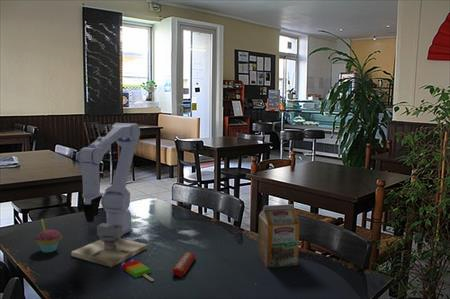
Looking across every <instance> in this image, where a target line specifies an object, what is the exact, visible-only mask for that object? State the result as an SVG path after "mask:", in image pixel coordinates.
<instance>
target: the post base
mask: <svg viewBox="0 0 450 299" xmlns="http://www.w3.org/2000/svg"><path fill="white" fill-rule="evenodd" d="M147 249H148V243H147V244H146V243H144V242H143V243H142V242H138V241H133V240H130V239H126V238H122V237H121V240H119V241H113V242H103V241H101V238H99V239H98V240H96V241H94V242H91V243H88V244H86V245H85V246H81V247H79V248H77V249H74V250H72V251H71V257H74V258H78V259H82V260H85V261H88V262H92V263H96V264H98V265H102V266H106V267H109V268H113V267H114V266H116V265H118V264H120V263H122V262H125V261H126V260H128V259H131V258H132V257H134V256H136V255H137V254H139V253H141V252H143V251H145V250H147Z"/></svg>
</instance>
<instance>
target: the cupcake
mask: <svg viewBox="0 0 450 299" xmlns="http://www.w3.org/2000/svg"><path fill="white" fill-rule="evenodd" d="M40 221H41V225H42V231H41V232H38V233H37V234H36V236H35V238H34V240H35V243H37V244H38V246H39V248H40V251H41V252H42V253H52V252H53V253H54V252H55V251H56V250H57V248H58V244H59V242H60V241H62V239H63V236H62V233H61V232H60V231H59V230H56V229H48V228H47V229H46V226H45V221H44V219H43V218H42V217H41V220H40Z"/></svg>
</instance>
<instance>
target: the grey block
mask: <svg viewBox="0 0 450 299" xmlns="http://www.w3.org/2000/svg"><path fill="white" fill-rule="evenodd" d="M96 236H97V237H98V238H99V239H101V241H103V242H113V241H119V240H121V238H122V236H123V235H122V225H114V224H107V222H106V223H105V222H102V223H100V224H98V225H96Z"/></svg>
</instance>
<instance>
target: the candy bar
mask: <svg viewBox="0 0 450 299" xmlns="http://www.w3.org/2000/svg"><path fill="white" fill-rule="evenodd" d="M195 258H196V255H195V253H193V252H189V251H186V252H185V253H184V254H183V255H182V257H181V258H180V259H179V260H178V261H177V263H176V264H175V266H174V268H173V270H172V275H175V276H177V277H179V278H182V277H183V276H184V275H185V274H186V272H187V271H188V270H189V268H190V267H191V265H192V264H193V262H194V260H195Z"/></svg>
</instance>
